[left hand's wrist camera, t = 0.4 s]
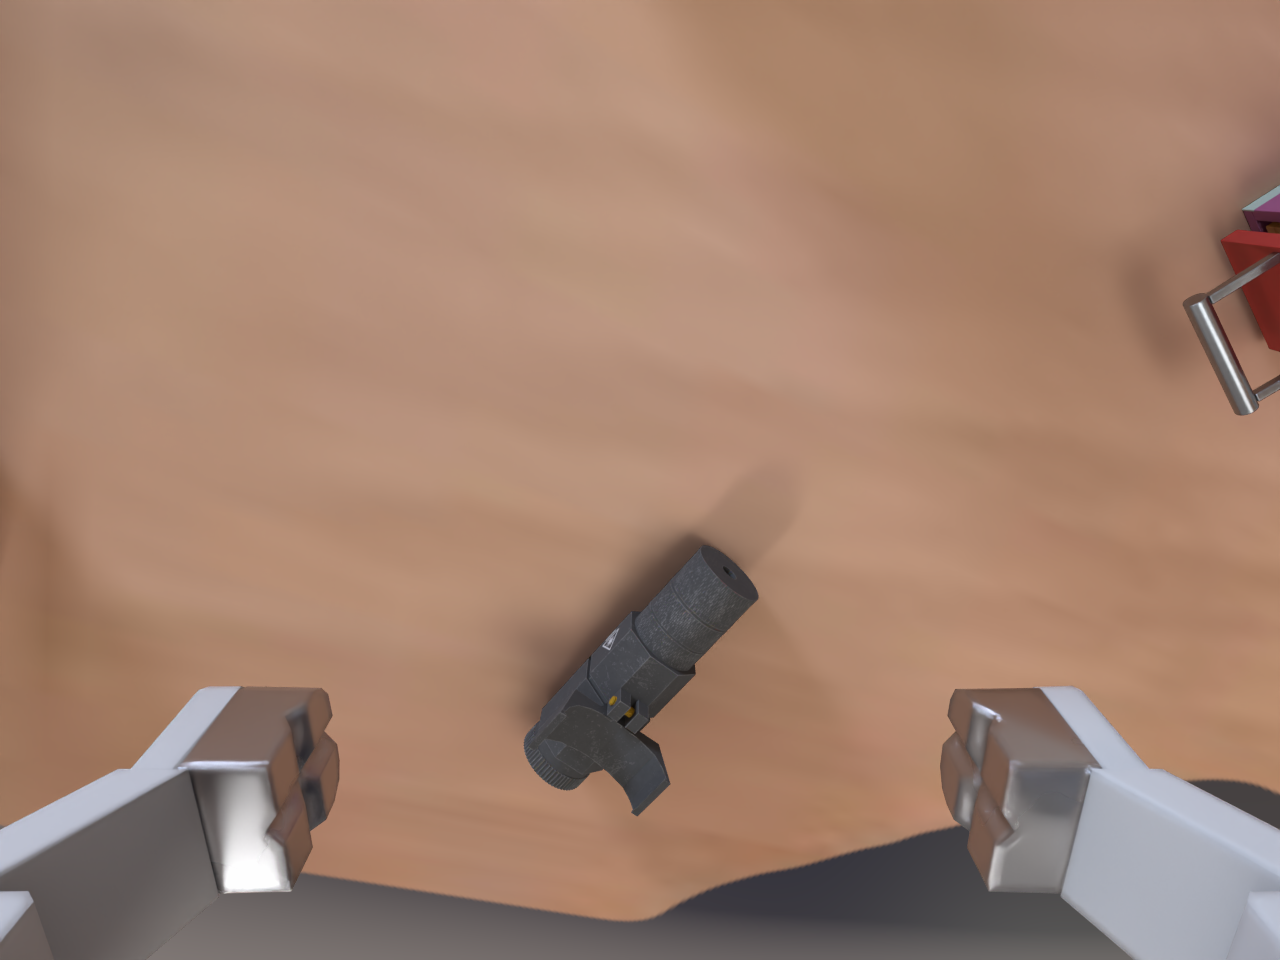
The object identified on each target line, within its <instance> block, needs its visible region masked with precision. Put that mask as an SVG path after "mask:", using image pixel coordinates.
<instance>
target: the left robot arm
mask: <svg viewBox="0 0 1280 960" xmlns="http://www.w3.org/2000/svg"><path fill="white" fill-rule="evenodd" d="M331 718H332V711H331V706H330V701H329V696H328V694H327V693H326V692H325V691H324V690H323V689H322V688H294V687H242V686H209V687H206V688H203V689H200V690H198V691H197V692H196V694H195V695H194V696H193V697H192V698H191V699H190V700H189V702H188V703H187V704H186V705H185V706H184V707H183V709H182V710H181V711H180V712H179V713H178V714H177V716H176V717H175V718H174V719H173V720H172V721H171V723H170V724H169V725H168V726H167V727H166V728H165V730H164V731H163V732H162V733H161V734H160V735H159V737H158V738H157V739H156V740H155V741H154V742H153V744H152V745H151V746H150V747H149V748H148V749H147V751H146V752H145V753H144V754H143V755H142V756H141V757H140V759H139V760H138V761H137V762H136V763H135V764H134V766H133V767H132V768H131V769H117V770H115V771H113V772H111V773H109V774H107V775H105V776H104V777H102V778H100V779H98V780H96V781H94V782H92V783H90V784H88V785H86V786H84V787H82V788H80V789H78V790H76V791H74V792H72V793H71V794H69V795H67V796H65V797H63V798H61V799H59V800H57V801H55V802H53V803H51V804H49V805H47V806H45V807H43V808H41V809H39V810H38V811H36V812H34V813H32V814H30V815H28V816H26V817H24V818H22V819H20V820H18V821H16V822H14V823H12V824H10V825H8V826H6V827H5V828H3V829H1V830H0V960H146V959H147V958H149V957H150V956H151V955H152V954H153V953H154V952H156V951H157V950H158V949H159V948H160V947H161V946H163V945H164V944H165V943H166V942H167V941H168V940H170V939H171V938H172V937H173V936H174V935H175V934H177V933H178V932H179V931H180V930H181V929H182V928H184V927H185V926H186V925H187V924H188V923H189V922H191V921H192V920H193V919H194V918H195V917H197V916H198V915H199V914H200V913H201V912H202V911H204V910H205V909H206V908H207V907H208V906H209V905H211V904H212V903H213V902H214V901H215V900H216V899H218V898H219V894H218V893H246V892H281V891H291V890H292V889H293V886H294V884H295V882H296V880H297V878H298V876H299V874H300V872H301V870H302V868H303V866H304V864H305V862H306V860H307V858H308V856H309V854H310V852H311V850H312V848H313V846H312V840H311V835H310V831H311V830H312V829H314V828H315V827H317V826H318V825H319V824H321V823H322V822H323V821H325V820H326V819H327V817H328V814H329V812H330V810H331V808H332V806H333V803H334V801H335V796H336V791H337V787H338V782H339V754H338V747H337V744H336V743H335V742H334V741H333V740H332V739H331V738H330V737H329V736H328V735H327V734H326V733H325V732H324V730H325V728H326V727H327V725H328V723H329V721H330V719H331ZM948 718H949V719H950V721H951V723H952V725H953V727H954V728H955V730H956V732H955V733H954V734H953V735H952V736H951V737H950V738H949V739H948V740H947V741H946V742H945V743H944V744H943V747H942V755H941V763H940V770H941V781H942V789H943V793H944V796H945V800H946V803H947V806H948V808H949V810H950V812H951V814H952V817H953V819H954V820H955V821H957V822H958V823H959V824H961V825H962V826H963V827H965V828H966V829H968V830H969V831H970V835H969V840H968V846H967V848H968V850H969V852H970V854H971V856H972V858H973V860H974V862H975V864H976V866H977V868H978V870H979V872H980V874H981V876H982V878H983V880H984V882H985V884H986V886H987V888H988V890H989V891H997V892H1032V893H1061V897H1062V898H1063V899H1064V900H1065V901H1066V902H1068V903H1069V904H1070V905H1071V906H1072V907H1073V908H1074V909H1076V910H1077V911H1078V912H1079V913H1080V914H1082V915H1083V916H1084V917H1085V918H1086V919H1087V920H1088V921H1090V922H1091V923H1092V924H1093V925H1094V926H1095V927H1097V928H1098V929H1099V930H1100V931H1101V932H1103V933H1104V934H1105V935H1106V936H1107V937H1108V938H1110V939H1111V940H1112V941H1113V942H1114V943H1115V944H1117V945H1118V946H1119V947H1120V948H1121V949H1122V950H1124V951H1125V952H1126V953H1127V954H1128V955H1129V956H1131V957H1132V958H1133V959H1134V960H1280V830H1279V829H1277V828H1275V827H1273V826H1271V825H1269V824H1267V823H1265V822H1264V821H1262V820H1260V819H1258V818H1256V817H1254V816H1252V815H1250V814H1248V813H1246V812H1244V811H1242V810H1240V809H1238V808H1236V807H1235V806H1233V805H1230V804H1229V803H1227V802H1225V801H1223V800H1221V799H1219V798H1217V797H1215V796H1213V795H1211V794H1209V793H1207V792H1205V791H1204V790H1202V789H1200V788H1198V787H1196V786H1194V785H1192V784H1190V783H1188V782H1186V781H1184V780H1182V779H1180V778H1178V777H1176V776H1175V775H1173V774H1171V773H1169V772H1167V771H1165V770H1163V769H1149V768H1148V767H1147V766H1146V764H1145V763H1144V762H1143V761H1142V760H1141V759H1140V758H1139V756H1138V755H1137V754H1136V753H1135V752H1134V751H1133V749H1132V748H1131V747H1130V746H1129V745H1128V744H1127V742H1126V741H1125V740H1124V739H1123V738H1122V737H1121V735H1120V734H1119V733H1118V732H1117V731H1116V730H1115V728H1114V727H1113V726H1112V725H1111V724H1110V723H1109V722H1108V720H1107V719H1106V718H1105V717H1104V716H1103V715H1102V713H1101V712H1100V711H1099V710H1098V709H1097V708H1096V706H1095V705H1094V704H1093V703H1092V702H1091V701H1090V699H1089V698H1088V697H1087V696H1086V695H1085V694H1084V692H1083V691H1081V690H1080V689H1078V688H1076V687H1074V686H1051V687H1033V688H997V689H955V691H954V693H953V695H952V697H951V699H950V704H949V710H948Z"/></svg>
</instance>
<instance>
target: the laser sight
mask: <svg viewBox="0 0 1280 960" xmlns="http://www.w3.org/2000/svg"><path fill="white" fill-rule="evenodd" d="M757 600H758V592H757V590H756V588H755V586H754V585H753V583H752V582H751V580H750V579H749V578H748V577H747V575H746V574H745V573H744V572H743V571H742V570H741V569H740V568H739V567H738V566H737V565H736V564H735V563H734V562H733V561H732V560H730V559H729V558H728V557H727V556H725V555H724V554H723V553H721V552H720V551H718V550H716V549H714V548H712V547H710V546H706V545H703V546H701V547H700V549H699V550H698V551H697V552H696V553H695V554H694V556H693V557H692V558H691V559H690V560H689V561H688V562H687V563H686V564H685V565H684V566H683V567H682V569H681V570H680V571H679V572H678V573H677V574H676V575H675V576H674V577H673V578H672V579H671V580H670V581H669V582H668V584H667V585H666V586H665V587H664V588H663V589H662V590H661V591H660V592H659V593H658V594H657V595H656V596H655V597H654V599H653V600H652V601H651V602H650V603H649V604H648V606H647V607H646V608H645V609H644V610H643V611H642V612H634V611H631V612H630V614H629V615H628V616H627V617H626V618H625V619H624V620H623V621H622V622H621V623H620V624H619V626H618V627H617V628H616V629H615V630H614V631H613V632H612V633H611V634H610V635H609V637H608V638H607V639H606V640H605V641H604V642H603V643H602V644H601V645H600V646H599V647H598V649H597V650H596V651H595V652H594V653H593V654H592V655H591V656H590V657H589V658H588V659H587V661H586V662H585V663H584V664H583V665H582V666H581V667H580V668H579V669H578V670H577V671H576V673H575V674H574V675H573V676H572V677H571V678H570V679H569V680H568V681H567V682H566V684H565V685H564V686H563V687H562V688H561V689H560V690H559V691H558V692H557V693H556V694H555V696H554V697H553V698H552V699H551V700H550V701H549V702H548V703H547V704H546V705H545V706H544V708H543V709H542V713H541V719H540V721H539V722H538V723H536V725H535V726H534V727H533V728H532V729H531V730H530V731H529V732H528V733H527V735H526V737H525V739H524V749H525V751H524V752H525V755H526V756H527V757H526V758H527V759H528V762H529V763H530V765H531V766H532V768H533V769H534V771H535V772H536V773H537V774H538V775H539V777H541V778H542V779H543V780H545V782H547V783H548V784H550V785H551V786H554V787H555V788H558V789H561V790H562V789H563V790H573V789H575V788H577V787H578V786H579V785H580V784H581V783H582V782H583V781H584V780H585V779H586V778H587V777H588V775H589V773H592V772H596V771H601V770H603V769H605V770H606V771H607V772H608V773H609V774H610V775H611V776H612V777H613V778H614V779H615V780H616V781H617V782H618V783H619V784H620V785H621V786H622V787H623V788H624V790H625V792H626V794H627V796H628V798H629V800H630V802H631V805H632V808H633V810H632V812H631V813H633V814H634V815H636V816H638V815H639V814H640V813H641V812H642V811H643V810H644V809H645V808H646V807H647V806H648V805H650V804H651V803H652V802H653V801H654V800H655V799H656V798H657V797H658V796H659V795H660V794H661V793H662V792H663V791H664V790H665V789H666V788H667V787H668V786H669V785H670V781H669V778H668V774H667V771H666V768H665V764H664V761H663V757H662V754H661V751H660V747H659V744H658V743H656V742H655V741H653V740H652V739H650V738H649V737H647V736H645V735H644V734H642V733H641V732H640V731H641V730H642V729H643V728H644V727H645V726H646V725H647V724H648V723H649V722H650V718H653V717H654V716H655V715H656V714H657V713H658V712H659V711H660V710H661V709H662V708H663V707H664V706H665V705H666V704H667V703H668V702H669V701H670V700H671V699H672V698H673V697H674V696H675V695H676V694H677V693H678V692H679V691H680V690H681V689H682V688H683V687H684V686H685V685H686V684H687V683H688V682H689V681H690V680H691V679H692V678H693V677H694V676H695V675H696V673H695V663H696V662H697V661H698V660H699V659H700V658H701V657H702V656H703V655H704V654H705V653H706V652H707V651H708V650H709V649H710V648H711V647H712V645H713V644H714V643H715V642H716V641H717V640H718V639H719V638H720V637H721V636H722V635H723V634H724V633H725V632H727V630H728V629H729V628H730V627H731V626H732V625H733V624H734V623H735V622H736V621H737V620H738V619H739V618H740V617H741V616H742V615H743V613H744V612H745V611H746V610H747V609H748V608H749V607H750V606H751V605H752V604H753V603H755V602H756V601H757Z"/></svg>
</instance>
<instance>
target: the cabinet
mask: <svg viewBox="0 0 1280 960" xmlns="http://www.w3.org/2000/svg"><path fill="white" fill-rule="evenodd" d="M1242 211H1243V212H1244V214H1245V216H1246V219H1247V221H1248V223H1249V226H1250V228H1251V230H1252V231H1256V232H1266V233H1268V231H1267V229H1266V226H1267V225H1269V224H1270V223H1272V222H1280V185H1279V186H1278V187H1276V188H1274V189H1273V190H1271V191H1270V192H1268V193H1267V194H1265V195H1263V196H1262V197H1260V198H1259V199H1257V200H1256V201H1254V202H1253V203H1251V204H1249V205H1248V206H1246V207H1245V208H1243V209H1242Z"/></svg>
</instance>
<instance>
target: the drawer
mask: <svg viewBox="0 0 1280 960" xmlns="http://www.w3.org/2000/svg"><path fill="white" fill-rule="evenodd" d="M1266 229H1267V231H1268V233H1266V232H1256V231H1246V230H1236V231H1234V232H1233V233H1231V234H1230V235H1228V236H1227V237H1225V238H1223V239H1222V240H1221V243H1222V245H1223V247H1224V250H1225V252H1226V254H1227V256H1228V258H1229V261H1230V263H1231V265H1232V267H1233V269H1234V272H1235V274H1236V275H1235V276H1234V277H1232V278H1230V279H1229V280H1227V281H1226V282H1224V283H1222V284H1221V285H1219V286H1217V287H1216V288H1214V289H1213V290H1211V291H1209V292H1208V293H1200V294H1196V295H1193V296H1191V297H1189V298H1188V299H1186V300H1185V301H1184V302H1183V307H1184V309H1185V311H1186V313H1187V315H1188V317H1189V319H1190V321H1191V323H1192V326H1193V328H1194V330H1195V332H1196V334H1197V336H1198V338H1199V340H1200V342H1201V344H1202V346H1203V348H1204V350H1205V353H1206V355H1207V357H1208V359H1209V361H1210V363H1211V365H1212V367H1213V369H1214V371H1215V373H1216V375H1217V377H1218V380H1219V382H1220V384H1221V386H1222V388H1223V390H1224V392H1225V394H1226V396H1227V398H1228V400H1229V402H1230V405H1231V407H1232V409H1233V411H1234V413H1235V414H1236V415H1248V414H1251V413H1253V412H1255V411H1256V410H1257V409H1258V408H1259V404H1258V402H1257V401H1261V400H1263V399H1264V398H1266V397H1268V396H1270V395H1271V394H1273V393H1275V392H1276V391H1278V390H1280V375H1279V376H1277V377H1275V378H1274V379H1272V380H1270V381H1269V382H1267V383H1265V384H1263V385H1262V386H1260V387H1258V388H1257V389H1255V390H1253V391H1252V389H1251V387H1250V385H1249V382H1248V380H1247V378H1246V376H1245V374H1244V372H1243V370H1242V367H1241V365H1240V363H1239V361H1238V359H1237V357H1236V355H1235V353H1234V350H1233V348H1232V346H1231V344H1230V342H1229V340H1228V338H1227V335H1226V333H1225V331H1224V329H1223V327H1222V325H1221V323H1220V320H1219V318H1218V316H1217V314H1216V312H1215V310H1214V308H1213V306H1212V304H1214V303H1216V302H1217V301H1219V300H1221V299H1222V298H1224V297H1225V296H1227V295H1229V294H1230V293H1232V292H1234V291H1235V290H1237V289H1238V288H1240V287H1242V289H1243V292H1244V294H1245V296H1246V298H1247V300H1248V303H1249V305H1250V307H1251V309H1252V311H1253V314H1254V316H1255V318H1256V320H1257V323H1258V325H1259V327H1260V329H1261V331H1262V334H1263V336H1264V338H1265V340H1266V342H1267V345H1268V347H1269V349H1272V350H1276V351H1279V352H1280V222H1272V223H1270V224H1269V225H1267V226H1266Z"/></svg>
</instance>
